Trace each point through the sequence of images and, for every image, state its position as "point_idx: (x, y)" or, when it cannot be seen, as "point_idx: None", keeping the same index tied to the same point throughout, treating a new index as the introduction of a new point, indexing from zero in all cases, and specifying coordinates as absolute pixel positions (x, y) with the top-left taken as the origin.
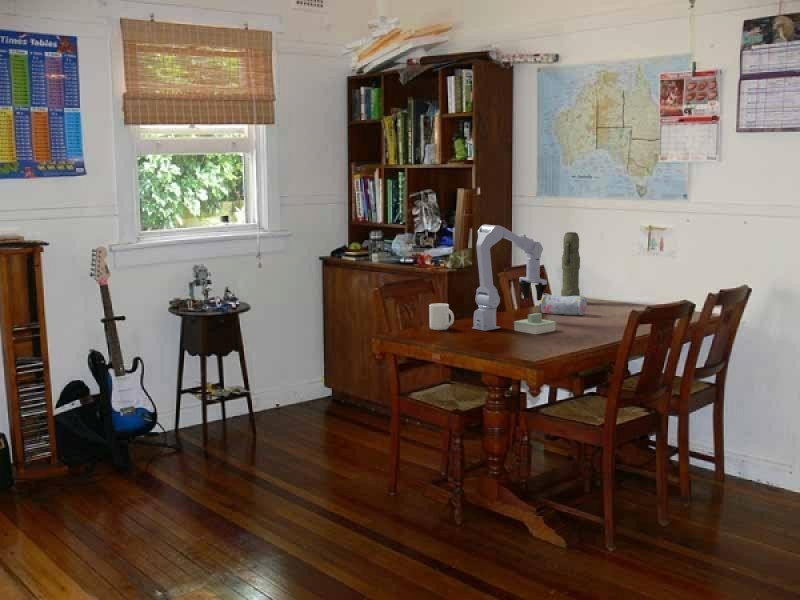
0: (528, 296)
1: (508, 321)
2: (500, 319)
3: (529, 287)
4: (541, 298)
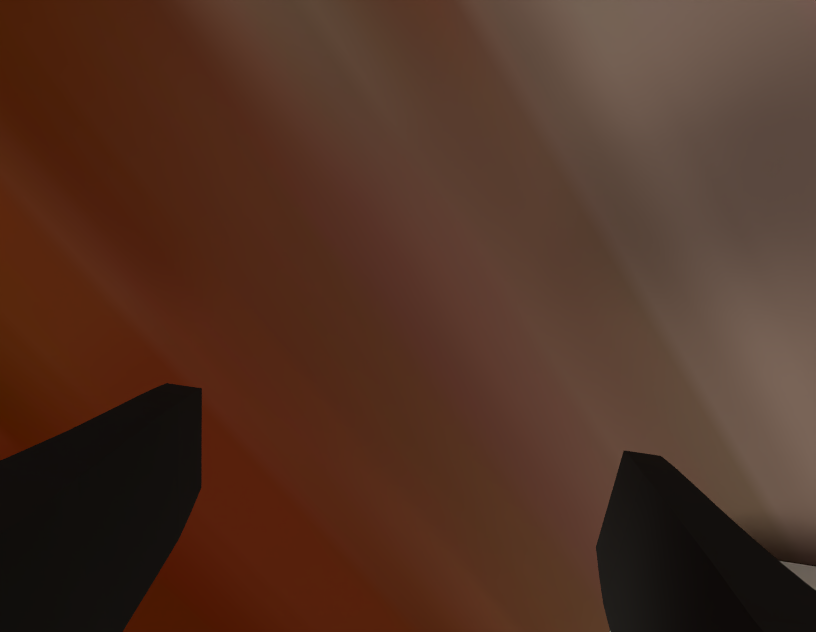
0: (185, 405)
1: None
2: (19, 385)
3: (4, 529)
4: (680, 482)
